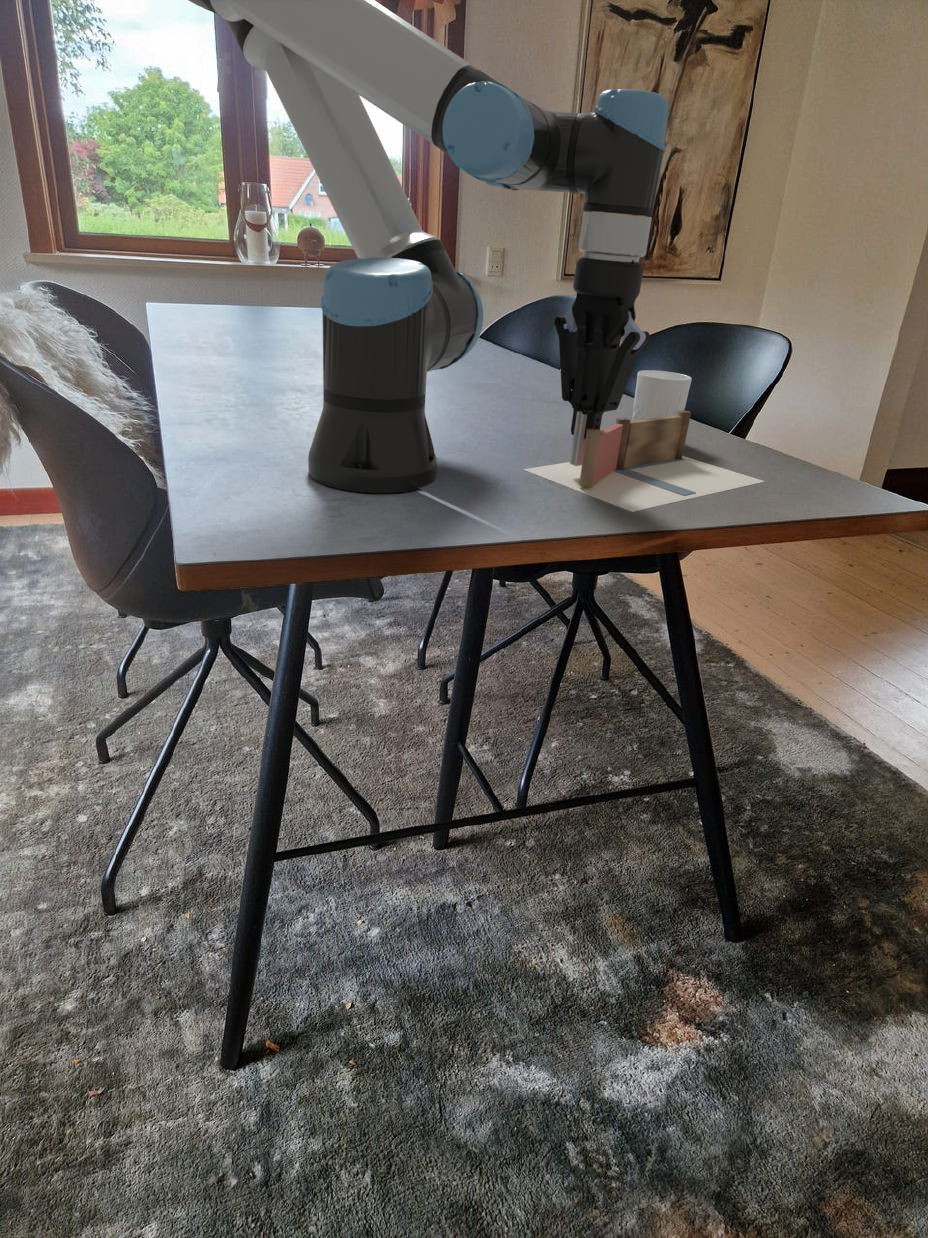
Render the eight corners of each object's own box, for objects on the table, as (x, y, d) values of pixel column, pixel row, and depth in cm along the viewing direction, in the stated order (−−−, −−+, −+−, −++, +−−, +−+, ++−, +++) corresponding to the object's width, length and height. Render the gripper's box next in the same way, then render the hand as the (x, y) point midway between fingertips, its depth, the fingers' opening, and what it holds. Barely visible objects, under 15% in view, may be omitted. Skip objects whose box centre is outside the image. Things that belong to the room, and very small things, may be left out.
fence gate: (589, 488, 93) (598, 432, 90) (577, 485, 94) (585, 430, 91) (617, 469, 102) (626, 418, 99) (606, 467, 102) (614, 416, 100)
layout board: (631, 515, 88) (632, 510, 88) (522, 472, 100) (522, 468, 100) (764, 484, 104) (765, 480, 103) (656, 450, 116) (657, 447, 116)
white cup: (639, 433, 126) (650, 368, 121) (686, 443, 122) (699, 376, 117) (618, 440, 120) (629, 373, 115) (666, 451, 116) (680, 381, 112)
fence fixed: (615, 471, 102) (624, 421, 99) (605, 467, 103) (613, 418, 101) (684, 459, 111) (693, 412, 108) (674, 455, 112) (683, 409, 109)
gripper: (677, 264, 86) (638, 473, 97) (591, 252, 94) (564, 447, 105) (633, 262, 81) (597, 482, 92) (547, 250, 90) (524, 453, 101)
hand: (580, 463), depth 99 cm, fingers closed
